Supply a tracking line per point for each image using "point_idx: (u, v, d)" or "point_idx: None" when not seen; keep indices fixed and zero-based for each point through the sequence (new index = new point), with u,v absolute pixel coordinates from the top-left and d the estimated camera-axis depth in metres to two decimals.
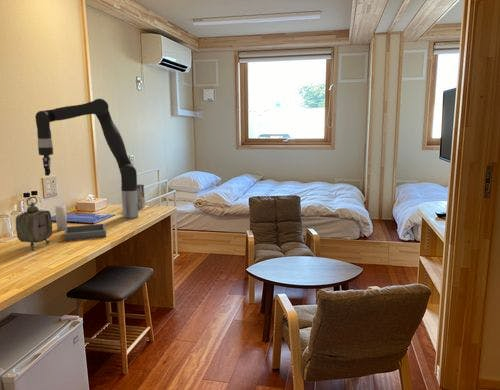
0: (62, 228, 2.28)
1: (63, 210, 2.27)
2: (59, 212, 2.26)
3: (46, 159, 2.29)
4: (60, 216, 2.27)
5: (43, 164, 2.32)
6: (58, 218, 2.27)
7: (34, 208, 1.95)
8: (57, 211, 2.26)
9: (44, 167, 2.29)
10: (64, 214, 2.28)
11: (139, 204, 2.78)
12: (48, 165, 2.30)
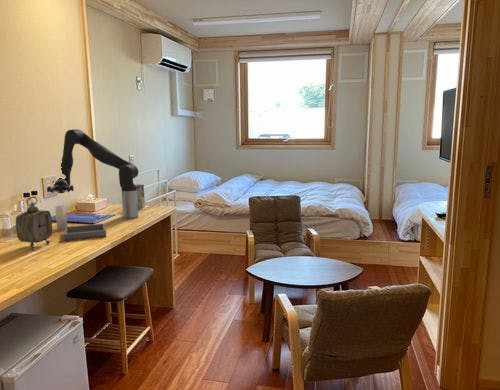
0: (62, 228, 2.28)
1: (63, 210, 2.27)
2: (59, 212, 2.26)
3: None
4: (60, 216, 2.27)
5: (53, 191, 2.41)
6: (58, 218, 2.27)
7: (34, 208, 1.95)
8: (57, 211, 2.26)
9: (47, 191, 2.39)
10: (64, 214, 2.28)
11: (139, 204, 2.78)
12: (47, 187, 2.39)
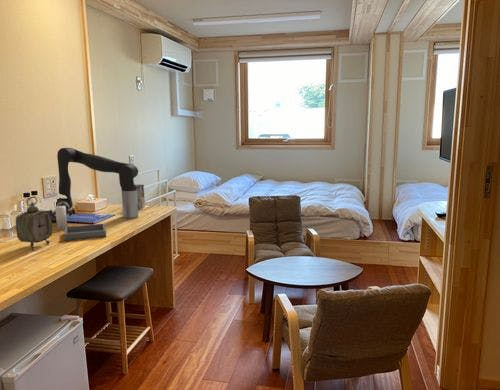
0: (62, 228, 2.28)
1: (63, 210, 2.27)
2: (59, 212, 2.26)
3: None
4: (60, 216, 2.27)
5: (54, 215, 2.39)
6: (58, 218, 2.27)
7: (34, 208, 1.95)
8: (57, 211, 2.26)
9: None
10: (64, 214, 2.28)
11: (139, 204, 2.78)
12: None
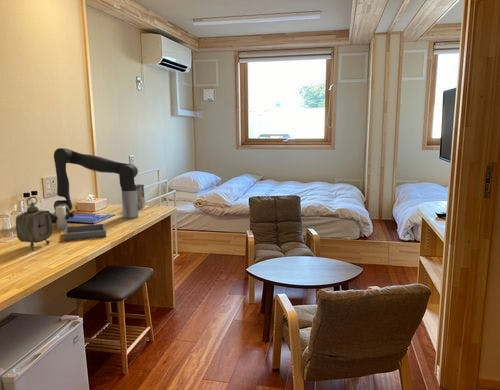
0: (62, 228, 2.28)
1: (63, 210, 2.27)
2: (59, 212, 2.26)
3: None
4: (60, 216, 2.27)
5: None
6: (58, 218, 2.27)
7: (34, 208, 1.95)
8: (57, 211, 2.26)
9: None
10: (64, 214, 2.28)
11: (139, 204, 2.78)
12: None
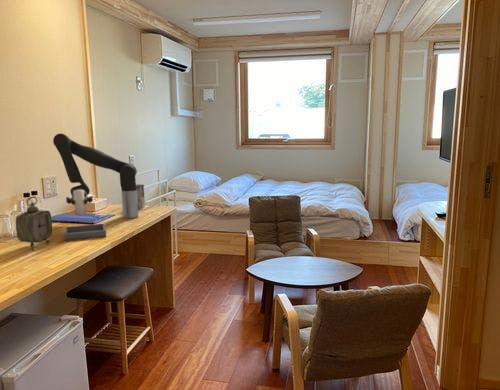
0: (80, 213, 2.17)
1: (81, 194, 2.16)
2: (77, 196, 2.15)
3: (66, 199, 2.22)
4: (78, 200, 2.15)
5: None
6: (76, 202, 2.16)
7: (34, 208, 1.95)
8: (75, 195, 2.15)
9: (68, 203, 2.18)
10: (82, 198, 2.17)
11: (139, 204, 2.78)
12: (67, 198, 2.19)
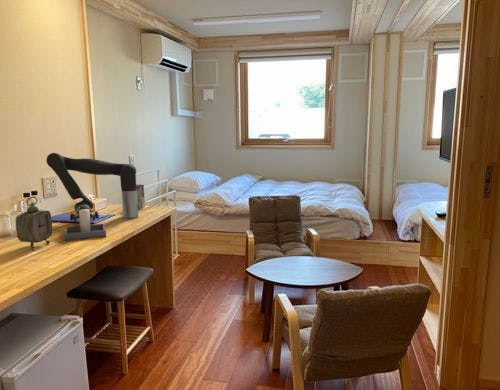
0: None
1: (87, 213, 2.17)
2: (83, 215, 2.16)
3: None
4: (84, 220, 2.16)
5: (76, 219, 2.21)
6: (82, 222, 2.16)
7: (34, 208, 1.95)
8: (81, 214, 2.16)
9: (70, 219, 2.19)
10: (88, 218, 2.17)
11: (139, 204, 2.78)
12: (70, 215, 2.19)
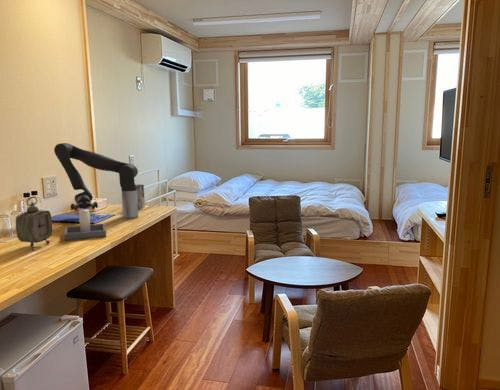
0: None
1: (87, 213, 2.17)
2: (83, 215, 2.16)
3: (71, 205, 2.34)
4: (84, 220, 2.16)
5: (77, 209, 2.33)
6: (82, 222, 2.16)
7: (34, 208, 1.95)
8: (81, 215, 2.16)
9: (71, 209, 2.30)
10: (88, 218, 2.17)
11: (139, 204, 2.78)
12: None
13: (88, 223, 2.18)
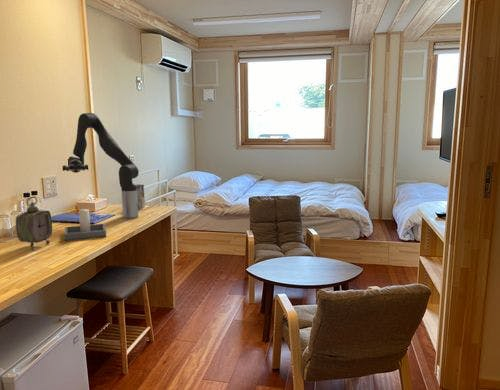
0: None
1: (87, 213, 2.17)
2: (83, 215, 2.16)
3: (63, 166, 2.46)
4: (84, 220, 2.16)
5: (68, 170, 2.45)
6: (82, 222, 2.16)
7: (34, 208, 1.95)
8: (81, 214, 2.16)
9: None
10: (88, 218, 2.17)
11: (139, 204, 2.78)
12: (62, 166, 2.43)
13: (88, 223, 2.18)
